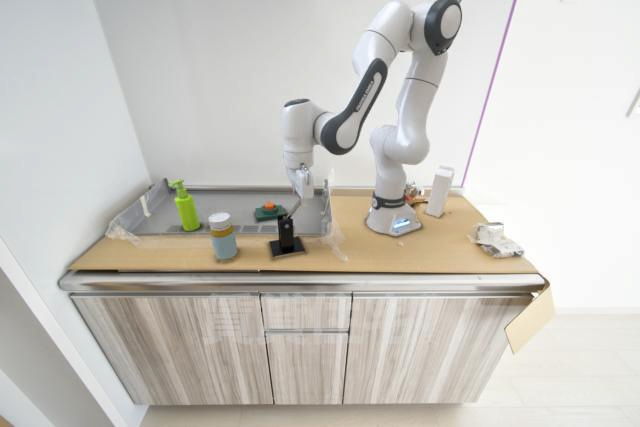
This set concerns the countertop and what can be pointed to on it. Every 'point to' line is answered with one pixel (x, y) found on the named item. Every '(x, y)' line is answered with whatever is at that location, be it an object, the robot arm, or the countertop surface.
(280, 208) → the button block
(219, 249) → the bottle
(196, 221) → the soap dispenser
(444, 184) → the milk
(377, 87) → the robot arm
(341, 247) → the countertop surface
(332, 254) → the countertop surface
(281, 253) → the bracket
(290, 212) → the lever
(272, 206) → the button
